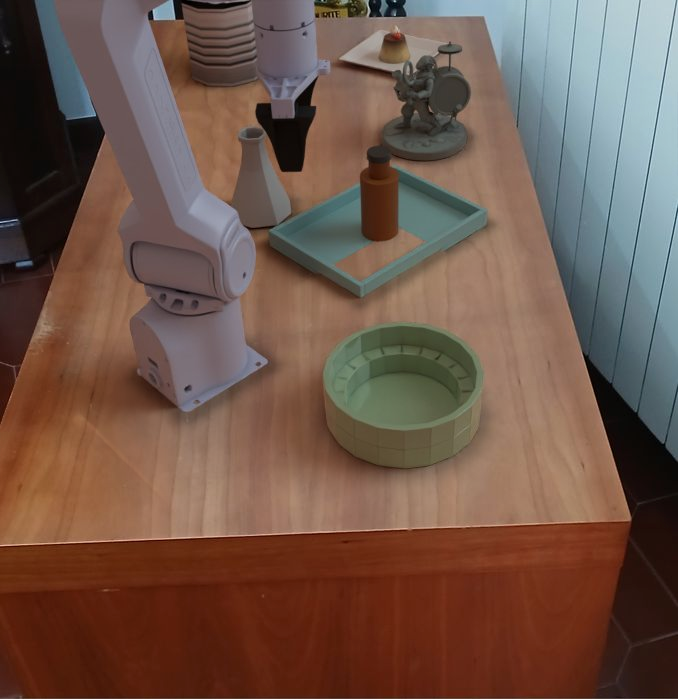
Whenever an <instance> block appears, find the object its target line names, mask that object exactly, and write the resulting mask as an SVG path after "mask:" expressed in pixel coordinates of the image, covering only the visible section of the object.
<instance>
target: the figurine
mask: <svg viewBox="0 0 678 699" xmlns="http://www.w3.org/2000/svg"><path fill="white" fill-rule="evenodd" d="M448 43H449V44H445V45H441V46H439V47H438V52H439V53H438V54H442V55H448V65H443V66H439V67H438V64H437V61H436V60H435V58H434V57H432V56H430V55H424V56H422V57H421V58H420V59H419V61H418V62H417V64H416V69H417V71H416V72H415V73H413V64H412V62H411V61H406V62H405V64H404V66H403V75H402V72H401V70H396V71H394V72H393V73H391V78H393V79H394V80H395V81H396V83H395V85H394V86H393V90H394V92H395V95H396V98H397V100H398V101H400V102H402V103H404V104H403V105H402V106H401V109H400V113H401V116H398V117H396V118H393V119H392V120H390V121H388V122H387V123H386V124H385V125H384V126H383V127H382V130H381V143H382V146H386V147H388V148H390V149H391V155H395V156H396V157H399V158H403V159H406V160H412V161H413V160H414V161H436V160H442V159H445V158H449V157H451V156H454V155H457V153H460V152H461V151H462V150H463V149H464V147H465V146H466V144H467V135H468V132H467V128H466V127H465V126H464V124H463V123H462V122H460V121H459V120H458V119H457V116H458V114H459V113H461V112H462V111H464V109H466V107H467V106H468V104H469V103H470V100H471V97H472V88H471V85H470V83H469V81H468V80H467V79H466V77H465V76H464V75H463V73H462V71H460V70H459V69H458V68H456V67H454V66H452V55H457V54H460V53H462V52H463V46H462V45H460V44H456V43H452V41H448ZM408 65H409V68H410V73H409V76H407V66H408ZM430 109H431V111H430ZM415 112H416V113H415Z"/></svg>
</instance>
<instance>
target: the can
mask: <svg viewBox="0 0 678 699" xmlns="http://www.w3.org/2000/svg"><path fill="white" fill-rule="evenodd" d="M180 2H181V10H182V15H183V22H184V28H185V36H186V42H187V49H188V55H189V56H188V57H189V62H190V68H191V74H192V75H191V76H192V80H193V81H196V82H197V83H200V84H202V85H205V86H207V87H223V88H224V87H225V88H227V87H229V88H231V87H232V88H233V87H237V86H241V85H246V84H248V83H253V82H256V81H257V80H259V78H258V77H257V72H256V65H257V63H258V61H257V51H256V42H255V32H254V22H253V21H254V20H253V12H252V2H251V0H180Z"/></svg>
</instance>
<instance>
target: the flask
mask: <svg viewBox="0 0 678 699" xmlns="http://www.w3.org/2000/svg"><path fill="white" fill-rule="evenodd" d="M267 137H268V135H267V134H266V132H265V130H264V129H263V128H262V126H261V125H248V126H243V127H242V128H240V129H239V130H238V131H237V140H238V142H239V143H240V144H241V157H240V158H241V159H240V166H239V170H238V176H237V180H236V184H235V187H234V190H233V194H232V198H231V203H230V206H231V207H232V208H234V209H235V210H236V211H237V212H238V216H239V219H240V222H241V224H242V225H243V226H244V227H248V228H252V229H254V228H262V227H263V228H264V227H273V226H274V227H275V226H278V225H280V224H282V223H283V222H284V220H285V219H286V218H287V217H288V216H290V215H291V214H292V206H291V200H290V196H289V195H288V193H287V191H286V189H285V187H284V185H283V184H282V182H281V180H280V179H279V177H278V175H277V173H276V170H275V168H274V166H273V165H272V162H271V161H270V158H269V155H268V151H267V148H266V143H265V140H266V139H267Z"/></svg>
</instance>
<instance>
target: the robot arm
mask: <svg viewBox="0 0 678 699" xmlns="http://www.w3.org/2000/svg"><path fill="white" fill-rule="evenodd" d="M169 1H170V0H53V4H54V8H55V13H56V17H57V20H58V24H59V26H60V29H61V32H62V34H63V37H64V39H65V42H66V44H67V46H68V49H69V51H70V53H71V55H72V57H73V60H74V63H75V65H76V68H77V70H78V72H79V75H80V77H81V79H82V81H83V84H84V86H85V88H86V91H87V93H88V95H89V98H90V101H91V103H92V106H93V108H94V110H95V112H96V115H97V117H98V120H99V122H100V124H101V126H102V129H103V131H104V134H105V136H106V138H107V140H108V143H109V145H110V147H111V148H110V149H111V150H112V152H113V155H114V157H115V159H116V162H117V165H118V167H119V169H120V172H121V173H122V176H123V178H124V181H125V183H126V185H127V189H129V192H130V195H131V197H132V200H131V202H130V203H129V204H128V206H127V207H126V209H125V211H124V212H123V214H122V216H121V220H120V222H119V224H118V229H117V234H118V235H119V237H120V240H121V243H122V258H123V263H124V267H125V270H126V273H127V275H128V277H129V278H130V279H131V280H132V281H133V282H134V283H137V284H141V285H143V287H144V290H145V295H146V296H145V297H150V298H149V300H148V302H147V303H146V304H145V305H144V306H143V307H142V308H141V309H140V310H138V311H137V312H136V313H135V314H133V315H132V316H131V317H130V319H129V331H130V336H131V339H132V343H133V347H134V352H135V356H136V360H137V364H138V368H137V369H136V374H137V376H138V377H142V378H143V379H144V380H145V381H146V382H148V384H150V385H151V387H154V388H155V389H156V390H157V391H158V392H159V393H161V395H162V396H164V397H165V398H166V399H167V400H168V401H169V402H171V403H172V404H173V405H174V406H176V407H177V408H178V409H179V410H180V411H182V413H189V412H191V411H194V410H195V409H196V408H198V407H199V406H202V405H203V404H204V403H207V402H208V401H209V400H211V399H213V398H215V397H216V396H218V395H219V394H221V393H222V392H224V391H225V390H227V389H229V388H230V387H232V386H234V385H235V384H237V383H239V382H240V381H242V380H244V379H245V378H246V377H248V376H249V375H251V374H252V373H255V372H256V371H258V370H259V369H261V368H263V367H264V366H266V365H267V364H268V362H269V361H268V359H267V358H265V357H264V356H263V355H261V354H260V353H259V352H258V351H256V350H255V349H253V348H252V347H251V346H249V345H248V344H247V341H246V333H245V327H244V319H243V310H242V305H241V298H240V297H241V296H242V295H243V294H245V292H246V291H247V290H248V288H249V286H250V284H251V281H252V279H253V276H254V273H255V269H256V268H255V267H256V263H257V262H256V261H257V260H256V258H257V252H256V251H257V250H256V244H255V241H254V238H253V236H252V234H251V232H250V230H249V229H248V228H247V227H246V226H245V225H242V224H241V222H240V219H239V216H238V212H237V211H236V210H235V209H234V208H232V207H231V205H229V204H228V203H227V202H225V201H223V200H222V199H221V198H220V197H218V196H216V195H215V194H213V193H212V192H210V191H209V190H208V189H206V188H205V186H204V183H203V180H202V177H201V174H200V171H199V168H198V165H197V162H196V159H195V156H194V153H193V150H192V147H191V144H190V141H189V138H188V135H187V132H186V129H185V126H184V123H183V120H182V117H181V115H180V111H179V108H178V104H177V102H176V98H175V96H174V93H173V89H172V87H171V84H170V81H169V78H168V75H167V72H166V69H165V66H164V62H163V59H162V56H161V54H160V51H159V47H158V44H157V41H156V39H155V35H154V32H153V30H152V26H151V23H150V19H149V12H151V11H153V10H154V9H155V10H156V8H158V7H160V6H162V5H163V4H166V3H167V2H169ZM251 2H252V12H253V20H254V21H253V22H254V32H255V42H256V51H257V61H258V63H257V65H256V72H257V77H258V80H259V82H260V84H261V85H262V87H263V89H264V90H265V92H266V93H267V95H268V96H269V98H270V102H257V103H256V105H255V110H254V113H255V119H256V121H257V123H258V125H259V126H260V127H262V128H263V129H264V130H265V132H266V135H267V137H268V139H269V142H270V144H271V146H272V149H273V153H274V156H275V159H276V162H277V164H278V165H277V166H278V168H279V169H280V171H281V172H282V173H302V172H303V168H304V163H305V158H306V157H305V156H306V145H307V139H308V133H309V130H310V128H311V126H312V124H313V122H314V120H315V117H316V113H317V105H312V100H313V99H312V98H313V94H314V89H315V87H316V83H317V82H318V78H319V76H327V75H329V74H330V73H331V61H330V60H329V59H320V58H318V45H317V28H316V27H317V26H316V25H317V24H316V10H315V9H316V8H315V0H251ZM256 364H259V365H256ZM196 401H198V403H194V402H196Z"/></svg>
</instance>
